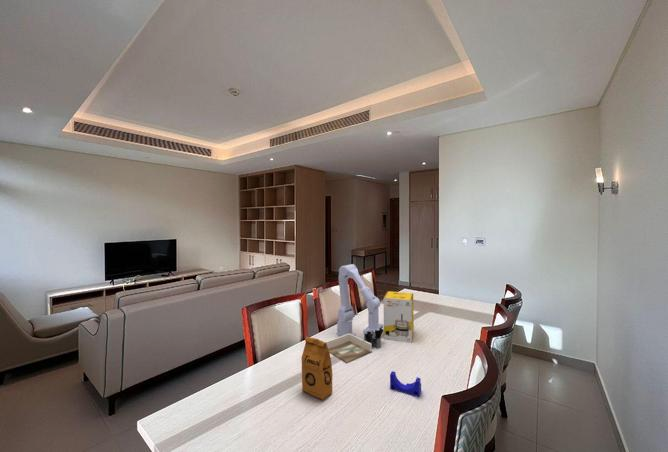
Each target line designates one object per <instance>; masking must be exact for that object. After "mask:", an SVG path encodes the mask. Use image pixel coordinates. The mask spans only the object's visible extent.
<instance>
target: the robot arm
mask: <svg viewBox="0 0 668 452" xmlns="http://www.w3.org/2000/svg"><path fill="white" fill-rule="evenodd" d="M337 279H338V286H339V295H340V307H339V308H338V313H337V314H338V315H337V318H338V320H337V324H336V327H337V329H336V331H337V332H336V335H337V336H338V337H340V336H343V335H346V334H349V333H350V334H352V335H354V336H356V334H355V333H353V321H354V318H355V315H356V314H355V311H354V308H353V306H352V305H351V302H350V301H351V300H350V292H349V291H350V290H349V283H348V280H349V279H353V281H354V282H355V283H356V285H357V286H358V287H359V289H360V294H361V296H362V298H363V299H364V300H365V302H366V303H365V306H366V308H367V311H368V312H367V313H368V316H367V317H368V322H367V324H368V326H367V327H365V328H364V329H363V332H362V333H363V335H365V337H366V340H367V342H369V343H371V341H372V336H373V334H371V333H370V332H372V331H374V332H375V335H376V337H379V338H382V334H383V333H384V323H383V324H382V323H379V307H380V306H381V301H380V299H379V297H377V296H376V295H374V293H373V292H372V289H371V288H370V287H369V286H367V285H365V282H364V281H363V279H362V278H361V276H360V273H359V270H358V268H357V266H356V265H355V264H354V263H350V264H346V265H341V266H340V268H338V278H337Z"/></svg>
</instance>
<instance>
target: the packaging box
mask: <svg viewBox="0 0 668 452" xmlns="http://www.w3.org/2000/svg"><path fill="white" fill-rule="evenodd" d="M414 325H415V324H414V292H413V293H412V292H404V291H403V292H402V291H391V290H390V291H388V290H387V292H386V294H385V295H384V297H383V339H384V340H388V341H389V340H390V341H396V342H403V343H404V342H405V343H413V336H414V331H415V329H414Z"/></svg>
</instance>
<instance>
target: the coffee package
mask: <svg viewBox="0 0 668 452" xmlns="http://www.w3.org/2000/svg"><path fill="white" fill-rule="evenodd" d="M304 342H305V344H304V347H303V351H302V356H301V379H302V380H301V384H302V386H301V390H302V391H303V392H306V393H307V394H310V395H311V396H313V397H315V398H318V399H320V400H322V401H324V400H325V399H326V398H327V397H329V396H331V395H332V393H333V377H334V376H333V375H334V374H333V366H332V358H331V353H329V350H328V347H327V344H326V341H323V340H321V339H319V338H316V337H309V336H306V337H305V338H304Z"/></svg>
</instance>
